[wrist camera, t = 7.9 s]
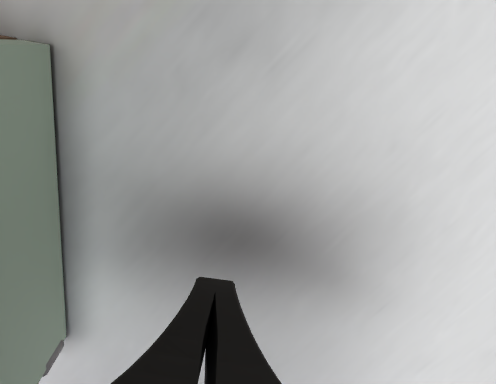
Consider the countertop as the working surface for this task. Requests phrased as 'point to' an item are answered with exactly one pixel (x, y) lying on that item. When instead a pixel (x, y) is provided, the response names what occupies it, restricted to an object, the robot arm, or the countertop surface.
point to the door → (28, 217)
